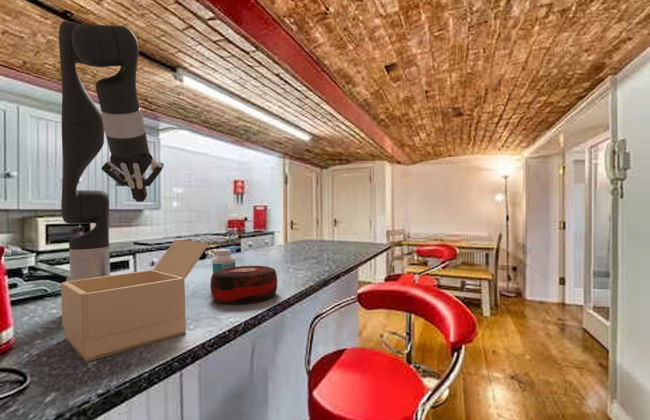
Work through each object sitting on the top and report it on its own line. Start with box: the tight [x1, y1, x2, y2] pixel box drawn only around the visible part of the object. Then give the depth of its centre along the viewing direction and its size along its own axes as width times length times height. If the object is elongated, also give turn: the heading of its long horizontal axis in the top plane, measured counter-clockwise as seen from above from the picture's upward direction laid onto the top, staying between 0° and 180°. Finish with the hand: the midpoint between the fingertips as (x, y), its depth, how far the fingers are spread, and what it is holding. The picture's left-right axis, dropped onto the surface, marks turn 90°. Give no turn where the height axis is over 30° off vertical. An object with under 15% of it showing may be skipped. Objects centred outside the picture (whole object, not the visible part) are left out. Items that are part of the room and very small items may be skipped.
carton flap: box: [153, 239, 209, 280], centre depth 82 cm, size 9×17×1 cm
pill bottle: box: [212, 248, 236, 274], centre depth 116 cm, size 8×7×14 cm
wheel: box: [210, 265, 278, 305], centre depth 106 cm, size 20×8×20 cm
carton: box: [60, 269, 187, 363], centre depth 74 cm, size 18×19×12 cm
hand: (140, 200), depth 83 cm, fingers closed
